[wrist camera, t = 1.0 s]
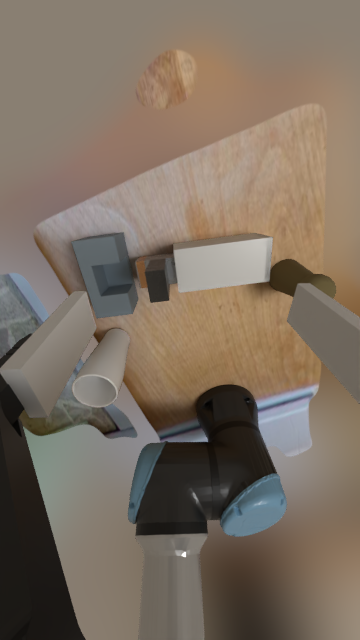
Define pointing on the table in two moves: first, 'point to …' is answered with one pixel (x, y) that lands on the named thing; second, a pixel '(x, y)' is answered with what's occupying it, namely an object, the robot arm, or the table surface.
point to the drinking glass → (103, 370)
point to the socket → (107, 274)
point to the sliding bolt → (157, 275)
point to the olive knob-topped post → (298, 278)
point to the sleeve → (223, 261)
